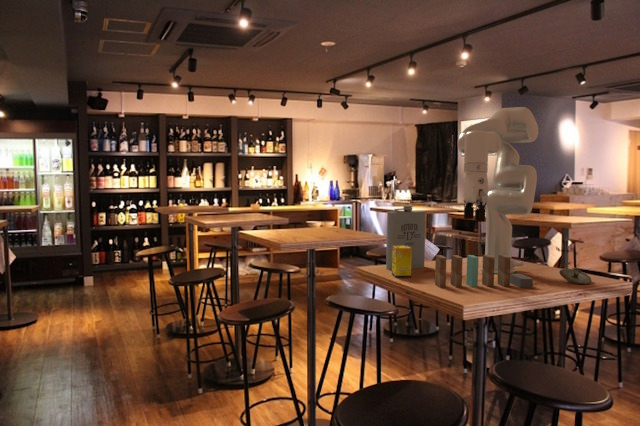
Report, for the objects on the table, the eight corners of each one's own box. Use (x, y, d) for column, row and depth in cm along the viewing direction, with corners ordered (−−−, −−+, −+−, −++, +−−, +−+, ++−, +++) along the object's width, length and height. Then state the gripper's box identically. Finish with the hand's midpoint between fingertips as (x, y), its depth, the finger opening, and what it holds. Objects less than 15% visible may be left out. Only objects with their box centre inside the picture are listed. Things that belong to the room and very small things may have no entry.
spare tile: (471, 284, 180) (472, 255, 179) (477, 287, 175) (478, 257, 174) (466, 284, 180) (467, 255, 179) (471, 287, 175) (472, 257, 174)
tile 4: (487, 283, 181) (488, 254, 180) (493, 286, 176) (494, 257, 175) (481, 283, 181) (482, 254, 180) (487, 287, 176) (488, 257, 175)
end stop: (519, 282, 184) (520, 273, 184) (532, 287, 175) (532, 278, 175) (508, 282, 184) (509, 273, 183) (521, 287, 175) (521, 278, 174)
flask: (391, 270, 203) (392, 206, 201) (384, 268, 207) (385, 205, 205) (427, 267, 211) (428, 205, 209) (420, 265, 215) (421, 204, 213)
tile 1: (440, 284, 179) (441, 255, 178) (445, 287, 174) (446, 257, 173) (434, 284, 179) (435, 255, 178) (439, 287, 174) (440, 257, 173)
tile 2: (456, 284, 180) (457, 255, 179) (461, 287, 175) (462, 257, 174) (450, 284, 180) (451, 255, 179) (455, 287, 175) (456, 257, 174)
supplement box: (391, 274, 195) (392, 245, 194) (407, 274, 196) (407, 245, 195) (395, 278, 189) (395, 247, 189) (411, 277, 190) (412, 247, 189)
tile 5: (503, 283, 181) (504, 254, 180) (509, 286, 176) (510, 257, 175) (497, 283, 181) (498, 254, 180) (503, 286, 176) (504, 257, 175)
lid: (575, 278, 191) (576, 264, 191) (598, 284, 182) (599, 269, 181) (552, 280, 188) (553, 266, 187) (574, 286, 178) (575, 271, 178)
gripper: (497, 168, 166) (495, 222, 168) (476, 168, 183) (475, 217, 185) (474, 168, 166) (473, 222, 167) (455, 168, 183) (454, 217, 184)
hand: (474, 220), depth 176 cm, fingers open, 9 cm apart
